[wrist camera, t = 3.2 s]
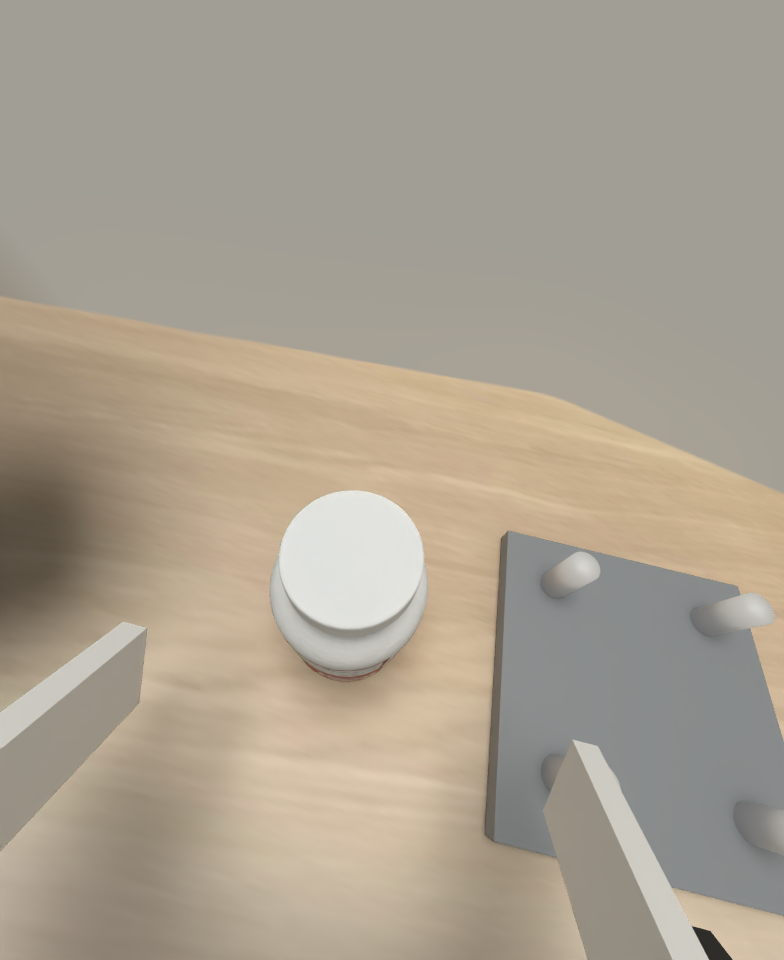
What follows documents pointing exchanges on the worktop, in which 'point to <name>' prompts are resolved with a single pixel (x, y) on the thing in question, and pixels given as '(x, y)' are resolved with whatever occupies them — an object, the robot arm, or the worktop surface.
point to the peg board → (639, 712)
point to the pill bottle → (349, 583)
